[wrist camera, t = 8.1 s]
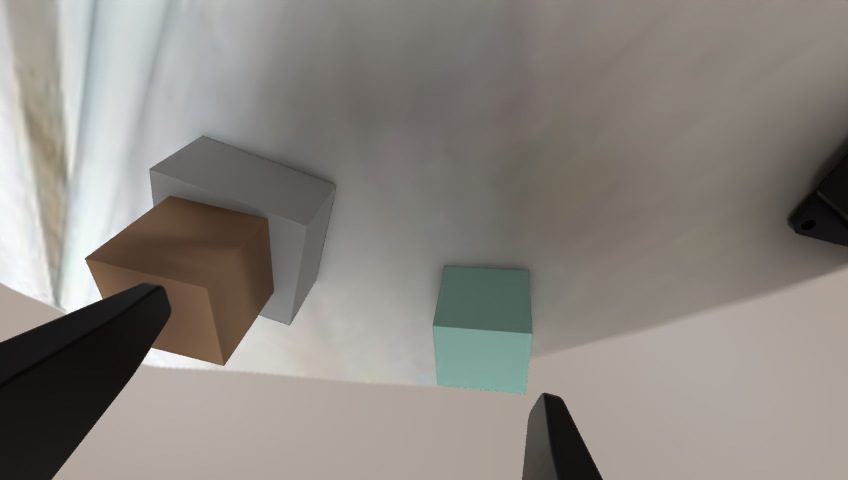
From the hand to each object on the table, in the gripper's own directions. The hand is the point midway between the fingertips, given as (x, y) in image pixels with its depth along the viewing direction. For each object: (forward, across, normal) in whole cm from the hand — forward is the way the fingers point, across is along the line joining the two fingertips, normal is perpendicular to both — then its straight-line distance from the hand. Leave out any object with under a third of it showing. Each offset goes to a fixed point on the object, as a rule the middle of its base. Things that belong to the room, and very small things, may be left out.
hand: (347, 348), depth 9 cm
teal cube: (+12, -4, +8) cm, 15 cm away
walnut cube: (+8, +8, +6) cm, 13 cm away
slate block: (+12, +8, +6) cm, 16 cm away
